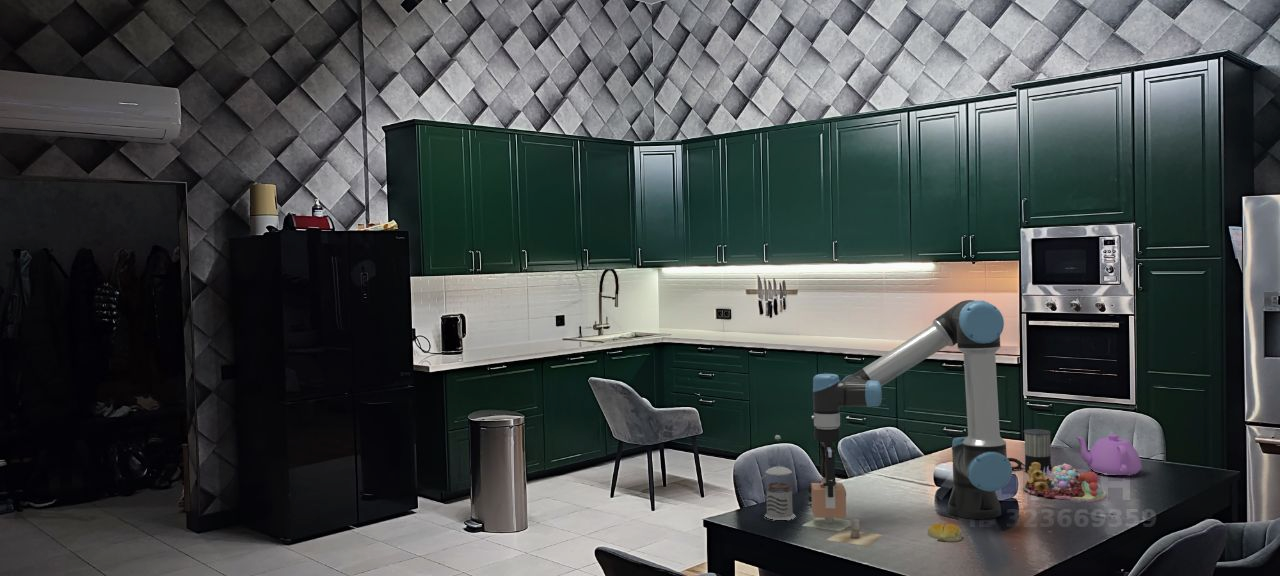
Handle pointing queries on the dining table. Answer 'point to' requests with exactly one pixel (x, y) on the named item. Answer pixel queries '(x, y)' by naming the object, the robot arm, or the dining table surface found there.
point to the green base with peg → (828, 523)
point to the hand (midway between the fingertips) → (828, 503)
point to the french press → (778, 494)
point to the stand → (855, 535)
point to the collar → (820, 504)
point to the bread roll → (945, 532)
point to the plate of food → (1063, 483)
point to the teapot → (1111, 456)
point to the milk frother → (1036, 449)
